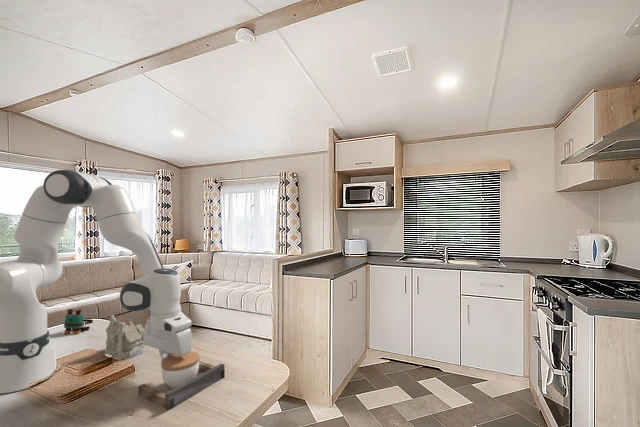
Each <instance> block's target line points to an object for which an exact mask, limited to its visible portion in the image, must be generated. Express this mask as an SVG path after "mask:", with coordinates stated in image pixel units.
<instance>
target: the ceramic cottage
mask: <svg viewBox="0 0 640 427" xmlns="http://www.w3.org/2000/svg"><path fill="white" fill-rule="evenodd" d="M144 328H145V327H143V325H142V324H141V323H139V324H136V325H135V324H134V323H133V321H132V320H131V321H128V325H127V324H126V323H125V322H123V321H119V320H118V321H117V318H115V315H114V314H111V315H110V321H109V324H108V326H107V328H105V329H106V330H105V332H106V336H107V338H106V340H105V341H106V342H105V344H106V345H105V346H106V347H105V349H104V350H105V351H104V354H109V355H112V356H113V357H115V358H119V359H123V360H122V361H126V360H131V359H133V358H136V357H138V356H139V355H141V354H143V353H144V352H145V350H146V348H147V345H145V343H144Z"/></svg>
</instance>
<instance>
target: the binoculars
mask: <svg viewBox="0 0 640 427" xmlns="http://www.w3.org/2000/svg"><path fill="white" fill-rule="evenodd" d="M66 311H67V314H65V317H64V324H63V327H64V329H65V330H64V332H63V333H64V334H65V335H66V334H71V333H72V335H79V334H80V333H81V331H86V330H90V328H91V327H90V325H89V324H93V322H94V320H93V319H86V318H85V319H84V314H83V313H82V309H77V310H75V313H73V312H74V309H72V308H68V309H67V310H66ZM86 325H89V326H86Z"/></svg>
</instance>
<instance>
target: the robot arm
mask: <svg viewBox="0 0 640 427" xmlns="http://www.w3.org/2000/svg"><path fill="white" fill-rule="evenodd" d="M76 207H81V208H92V210H93V211H94V213H95V217H96V221H97V225H98V228H99V230H100V233H101V236H102V237H103V238H104V240H106V241H107V242H108V243H110V244H112V245H115V246H118V247H121V248H124V249H126V250H129V251H131V252H132V253H133V254H134V255H135V256H136V257H137V259H138V262H139V264H140V266H141V268H142V271H143V273H144V276H143V277H141V278H138V279H134V280H131V281H130V282H128V283H126V284H124V285H123V286H122V288H121V289H120V292H119V301H120V304H121V305H122V307H123V309H125V310H127V311H128V312H129V311H130V312H138V311H139V312H140V311H143V310H147V309H148V310H149V311H150V313H149V314H150V316H149V317H148V318H147V319H146V323H145V325H144V327H143V328H144V343H145V345H146V346H148V347H150V348H151V347H152V348H154V349H158V353H159V355H160V357H161V362H162V361H163V360H164V359H165V358H166V357H168V356H170V355H172V354H174V355H177V356H183V355H186V354H188V353H189V352H190V351H192V346H193V344H192V341H193V340H192V338H193V337H192V330H191V328H190V327H192V325H193V323H192V320H191V319H190V318H189V317H188V316H187V315H186V314H184V312H182V306H181V297H182V286H181V277H180V274H179V273H178V272H177V270H175V269H173V268H168V267H167V268H165V267H164V265H163V263H162V261H161V258H160V256H159V254H158V252H157V250H156V247H155V245H154V243H153V240H152V239H151V237H150V236H149V234H148V233H147V232H146V230H145V229H144V227H143V225H142V223H141V222H140V220H139V216H138V214H137V213H138V212H137V210H136V207H135V204H134V202H133V199H132V198H131V196H130V193H128V191H127V189H126V188H124V187H123V186H121V185H118V184H117V185H116V184H112V183H111V182H110V181H109V180H107V179H105V177H104V178H103V177H100V176H96V175H95V174H91V173H88V172H80V171H75V170H71V169H58V170H54V171H52V172H50V173H49V174H48V175H47V176H46V177H45V179H44V180H43V184H42V185H39V186H38V187H37V188H35V190H34V191H33V192H32V194H31V195H30V197H29V199H28V200H27V203H26V204H25V207H24V209H23V210H22V214H21V216H20V219H19V222H18V224H17V227H16V230H15V232H14V235H13V238H14V241H15V243H17V244H18V246H19V255H18V257H17V258H16V259H13V260H7V261H1V262H0V394H7V393H14V392H18V391H22V390H25V389H29V388H30V387H29V386H30V383H31V382H34V381H38V380H40V379H43V378H45V377H47V376H49V375H50V374H51V373H52V372H53V371H54V370H55V369H56V365H58V366H59V367H60V365H61V364H57V359H56V348H55V346H53V344H50V331H49V330H48V308H47V307H46V306H45V305H43V304H41V302H40V301H39V299H38V296H37V291H38V290H41V289H43V288H47V287H48V286H50V285H52V284H53V283H55V282H57V281H58V280H59V279H60V278H61V276H62V275H63V271H64V270H63V269H64V268H63V265H62V263H61V262H60V260H59V248H60V242H61V240H62V239H61V238H62V235H63V233H64V231H65V228H66V225H67V221H68V218H69V216H70V213H71V211H72V210H73V209H74V208H76Z"/></svg>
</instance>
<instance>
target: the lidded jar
mask: <svg viewBox="0 0 640 427" xmlns="http://www.w3.org/2000/svg"><path fill="white" fill-rule="evenodd" d="M199 361H200V354H199V352H195V351H192V350H191V351H190V352H189V353H188V354H186V355H183V356H177V355H174V354H172V355H170V356H168V357H166V358H165V359H164V360H163V361H162V360H161V364H160V366H161V376H162V379H163V382H164V384H165V385H167V386H168V387H169V388H170V389H171V390H173V389H174V388H176V387H178V386H180V385H182V384H184V383H186V382H188V381H189V380H191V379H193V378H195V377H197V376H198V372H199V371H198V370H199Z"/></svg>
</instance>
